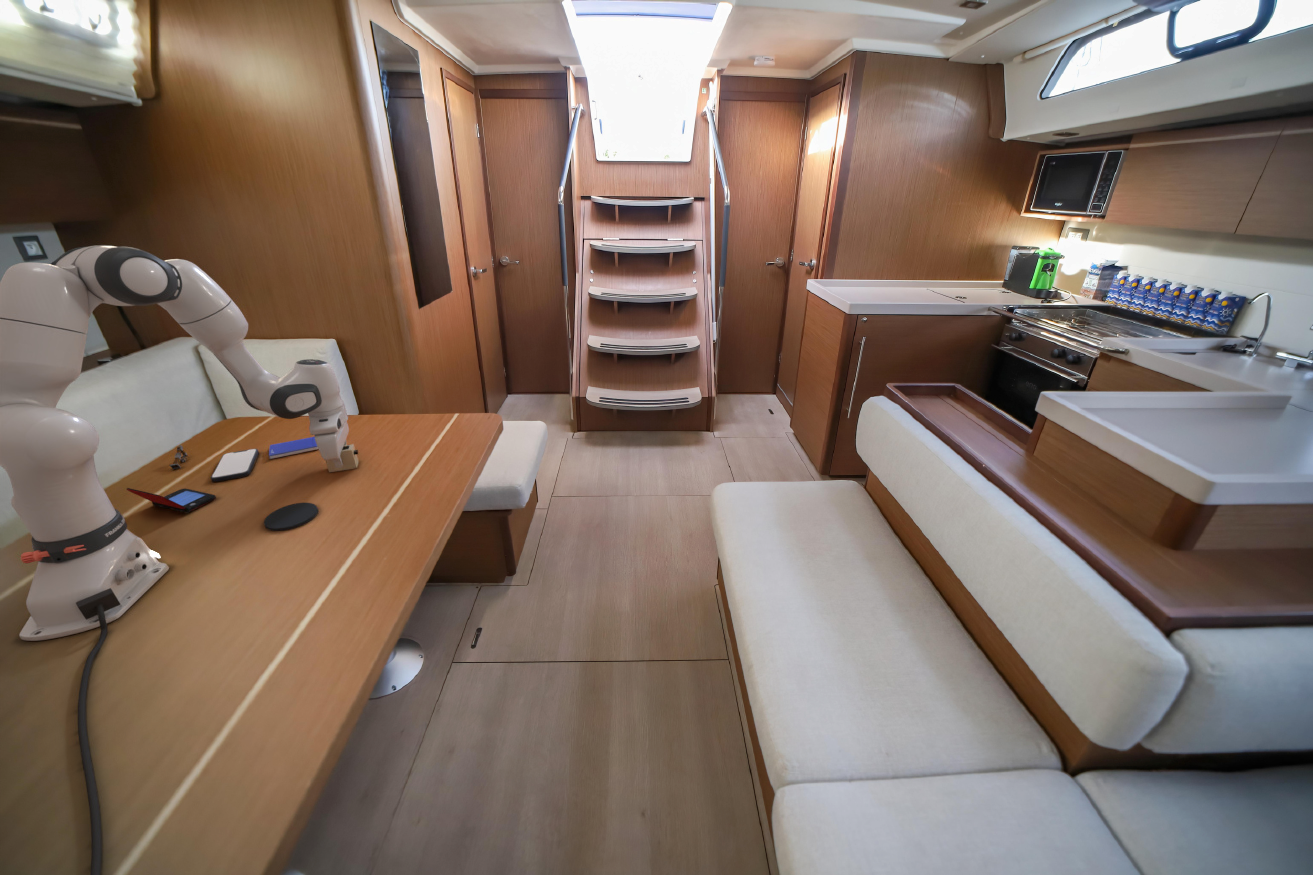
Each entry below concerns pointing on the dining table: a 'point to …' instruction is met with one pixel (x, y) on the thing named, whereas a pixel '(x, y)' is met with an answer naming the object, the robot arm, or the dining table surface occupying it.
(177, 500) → the handheld console
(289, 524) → the mat
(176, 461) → the grey jointed piece
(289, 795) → the dining table surface
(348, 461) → the beige block
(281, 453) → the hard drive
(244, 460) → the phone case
